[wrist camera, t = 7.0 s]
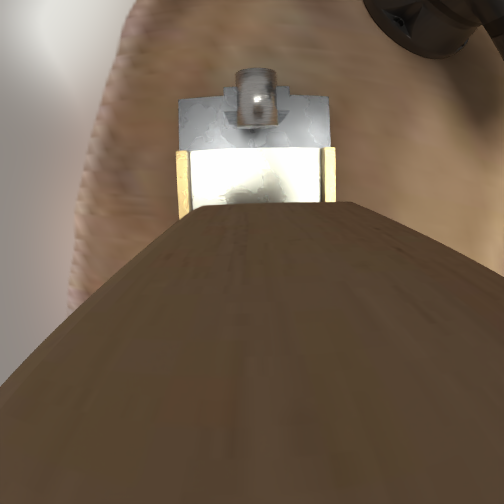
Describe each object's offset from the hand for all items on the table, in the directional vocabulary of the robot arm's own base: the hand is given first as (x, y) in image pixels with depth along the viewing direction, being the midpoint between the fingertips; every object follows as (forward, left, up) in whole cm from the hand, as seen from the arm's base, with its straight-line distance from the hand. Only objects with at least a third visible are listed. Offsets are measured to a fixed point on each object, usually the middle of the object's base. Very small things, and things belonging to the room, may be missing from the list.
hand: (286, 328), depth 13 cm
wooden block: (0, 0, -5) cm, 5 cm away
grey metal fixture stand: (-3, -1, -20) cm, 20 cm away
